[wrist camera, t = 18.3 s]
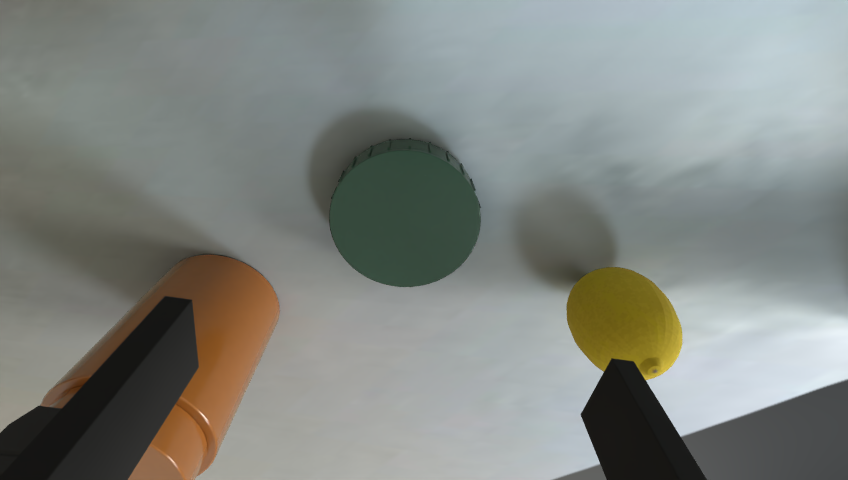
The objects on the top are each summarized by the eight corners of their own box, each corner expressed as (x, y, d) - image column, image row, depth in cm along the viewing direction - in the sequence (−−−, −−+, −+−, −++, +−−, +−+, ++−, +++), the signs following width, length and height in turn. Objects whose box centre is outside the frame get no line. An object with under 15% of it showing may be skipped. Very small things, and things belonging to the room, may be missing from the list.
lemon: (652, 263, 27) (738, 350, 20) (601, 324, 29) (661, 422, 22) (582, 231, 25) (647, 312, 18) (534, 298, 28) (575, 392, 21)
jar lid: (457, 277, 27) (460, 297, 25) (328, 256, 26) (321, 275, 24) (493, 154, 23) (500, 166, 21) (343, 124, 22) (336, 134, 20)
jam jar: (156, 245, 25) (-31, 405, 15) (281, 263, 26) (189, 428, 16) (168, 339, 29) (24, 523, 18) (278, 352, 30) (202, 536, 19)
